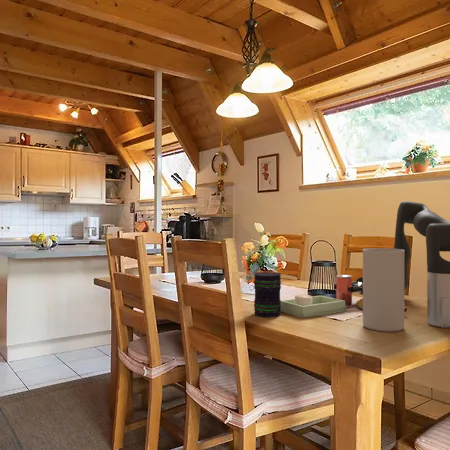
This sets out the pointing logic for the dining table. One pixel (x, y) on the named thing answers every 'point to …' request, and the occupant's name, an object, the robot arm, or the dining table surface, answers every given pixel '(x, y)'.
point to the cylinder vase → (383, 289)
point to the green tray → (313, 307)
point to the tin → (344, 289)
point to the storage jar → (267, 294)
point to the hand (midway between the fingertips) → (342, 288)
